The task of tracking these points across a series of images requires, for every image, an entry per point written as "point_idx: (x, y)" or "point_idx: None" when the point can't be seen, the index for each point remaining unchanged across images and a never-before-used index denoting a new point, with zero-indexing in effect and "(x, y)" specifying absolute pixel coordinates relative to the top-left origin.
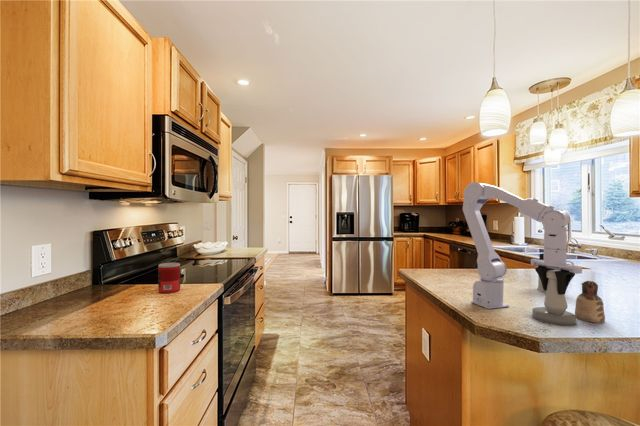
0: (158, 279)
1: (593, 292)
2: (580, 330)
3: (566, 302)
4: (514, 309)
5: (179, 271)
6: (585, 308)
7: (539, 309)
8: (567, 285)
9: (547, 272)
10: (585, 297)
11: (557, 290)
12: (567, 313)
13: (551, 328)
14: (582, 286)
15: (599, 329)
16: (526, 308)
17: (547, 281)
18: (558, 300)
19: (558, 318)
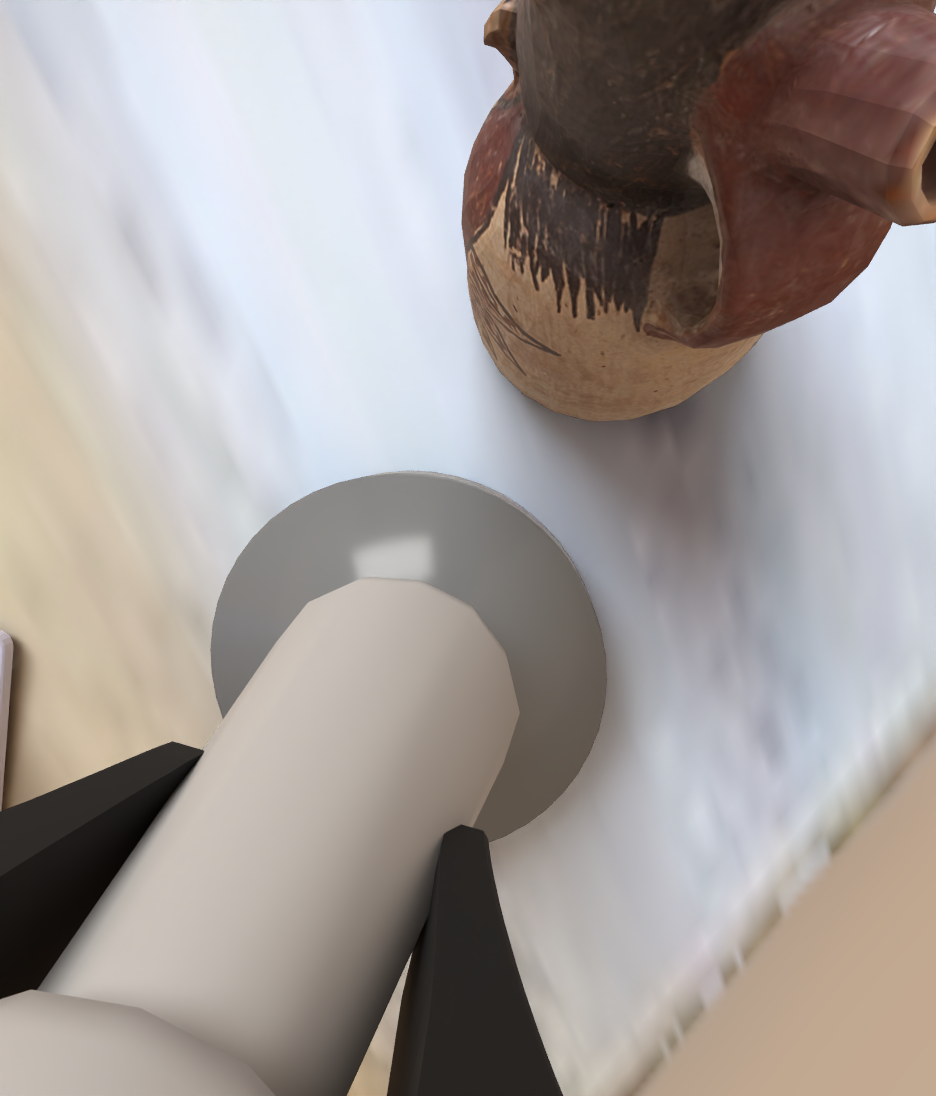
0: None
1: (856, 272)
2: (683, 768)
3: (496, 694)
4: (84, 663)
5: None
6: (630, 401)
7: None
8: (516, 1004)
9: None
10: (646, 326)
11: (400, 1006)
12: (491, 570)
13: (524, 913)
14: (559, 66)
15: (782, 588)
16: (106, 521)
17: (39, 960)
18: None
19: (516, 828)
